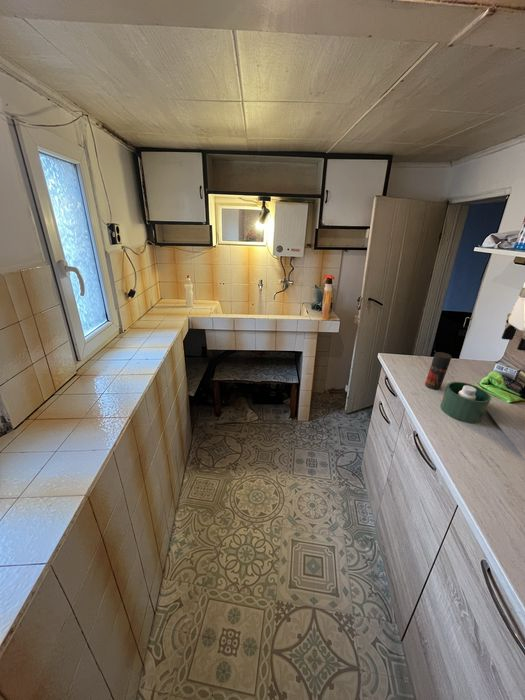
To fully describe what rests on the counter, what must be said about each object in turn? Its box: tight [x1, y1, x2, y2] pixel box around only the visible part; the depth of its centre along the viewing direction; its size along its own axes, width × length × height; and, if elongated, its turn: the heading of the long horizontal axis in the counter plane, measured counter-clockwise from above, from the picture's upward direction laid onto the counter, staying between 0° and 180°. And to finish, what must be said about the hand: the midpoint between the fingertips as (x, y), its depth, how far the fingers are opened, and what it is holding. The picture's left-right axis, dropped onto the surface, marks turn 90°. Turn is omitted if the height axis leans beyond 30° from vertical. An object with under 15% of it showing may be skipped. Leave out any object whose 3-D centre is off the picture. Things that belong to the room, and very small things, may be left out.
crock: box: [439, 381, 492, 424], centre depth 104 cm, size 13×13×9 cm
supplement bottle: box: [458, 385, 476, 401], centre depth 103 cm, size 5×5×10 cm
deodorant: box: [424, 351, 452, 391], centre depth 118 cm, size 6×6×15 cm
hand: (514, 344), depth 96 cm, fingers open, 9 cm apart
